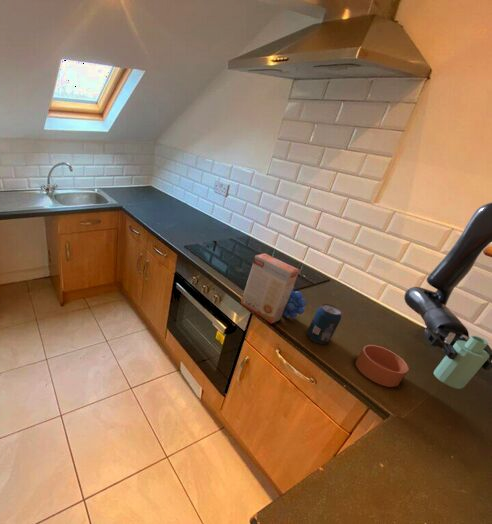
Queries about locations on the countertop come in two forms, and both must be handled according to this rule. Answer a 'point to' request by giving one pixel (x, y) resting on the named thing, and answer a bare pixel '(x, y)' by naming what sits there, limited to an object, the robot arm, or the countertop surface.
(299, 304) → the grapes
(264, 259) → the cracker box
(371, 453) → the countertop surface
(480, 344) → the bottle
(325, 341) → the soda can
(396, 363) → the terracotta bowl
